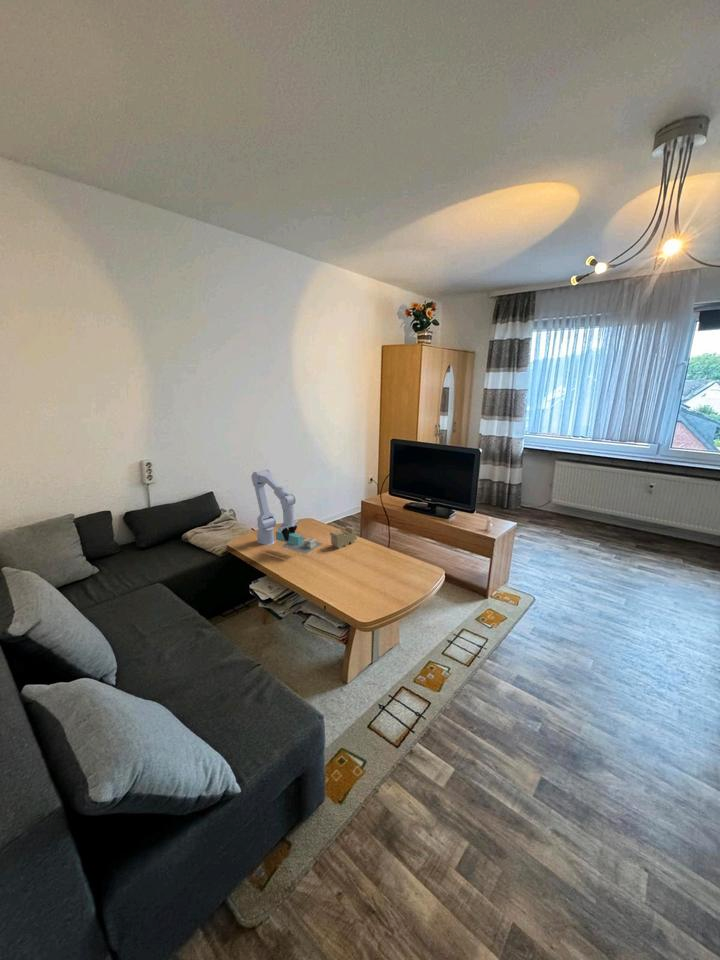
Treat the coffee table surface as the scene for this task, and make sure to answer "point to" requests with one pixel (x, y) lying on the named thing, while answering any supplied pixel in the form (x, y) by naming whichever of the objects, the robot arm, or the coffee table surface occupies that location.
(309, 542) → the pillar
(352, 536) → the toy train
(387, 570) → the coffee table surface
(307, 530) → the coffee table surface
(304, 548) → the grey flat plate
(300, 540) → the teal beam
